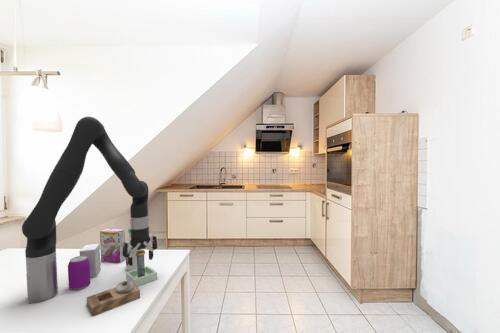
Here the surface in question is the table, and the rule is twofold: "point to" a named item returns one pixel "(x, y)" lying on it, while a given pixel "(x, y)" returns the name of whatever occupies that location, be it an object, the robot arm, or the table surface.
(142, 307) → the table surface
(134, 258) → the milk bottle
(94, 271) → the small box
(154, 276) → the tray
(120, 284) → the block
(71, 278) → the beverage can
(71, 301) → the table surface
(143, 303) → the table surface
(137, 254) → the pin
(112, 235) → the candy bar box
